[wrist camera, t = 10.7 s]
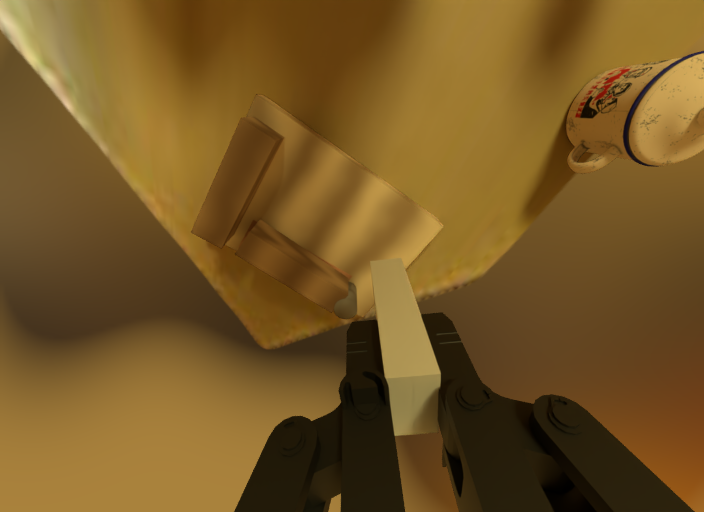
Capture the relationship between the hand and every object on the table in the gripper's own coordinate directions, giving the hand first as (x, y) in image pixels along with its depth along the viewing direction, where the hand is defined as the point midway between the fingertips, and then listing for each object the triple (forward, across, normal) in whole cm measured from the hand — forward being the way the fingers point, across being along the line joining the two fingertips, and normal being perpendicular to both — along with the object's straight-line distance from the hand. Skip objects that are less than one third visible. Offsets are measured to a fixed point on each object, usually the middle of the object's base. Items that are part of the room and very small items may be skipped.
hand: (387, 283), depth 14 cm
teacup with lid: (+25, +27, +3) cm, 37 cm away
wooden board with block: (+24, -6, -5) cm, 26 cm away
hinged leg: (+21, -9, -10) cm, 25 cm away
